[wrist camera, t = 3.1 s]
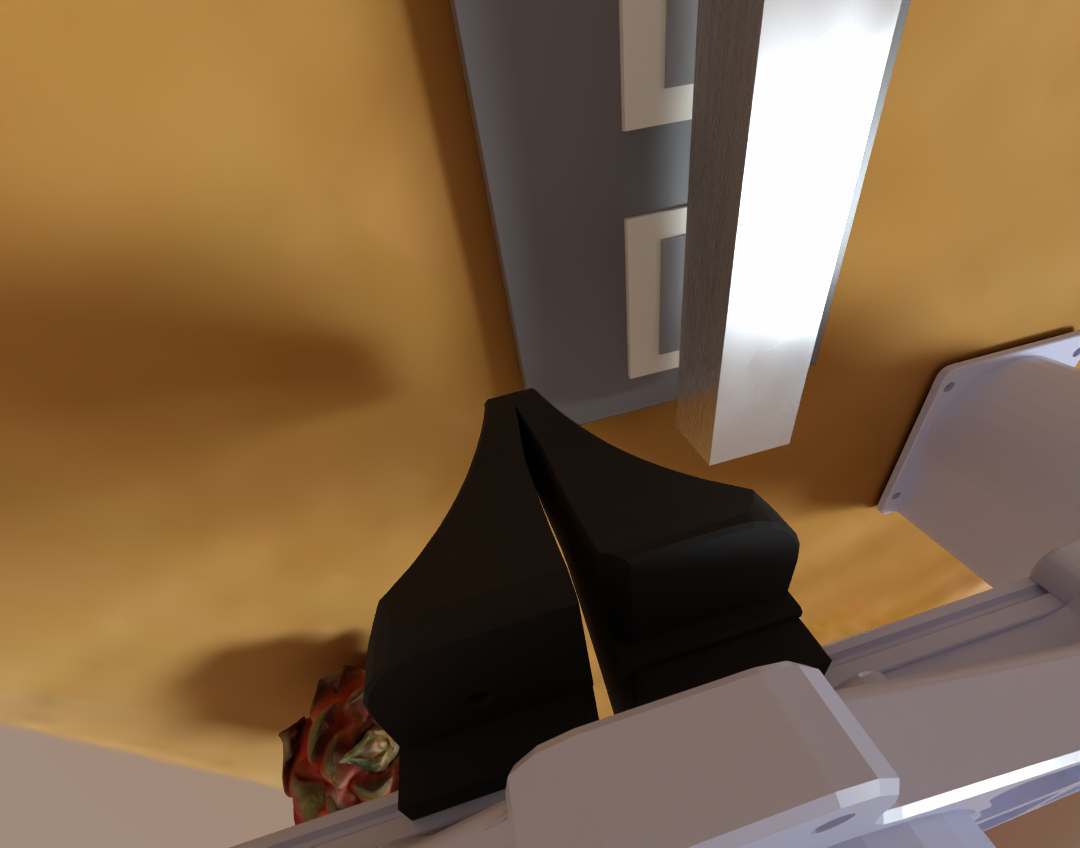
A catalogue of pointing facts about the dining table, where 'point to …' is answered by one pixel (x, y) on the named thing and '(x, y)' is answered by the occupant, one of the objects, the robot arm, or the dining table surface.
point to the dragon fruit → (337, 751)
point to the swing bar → (768, 204)
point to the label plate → (595, 187)
